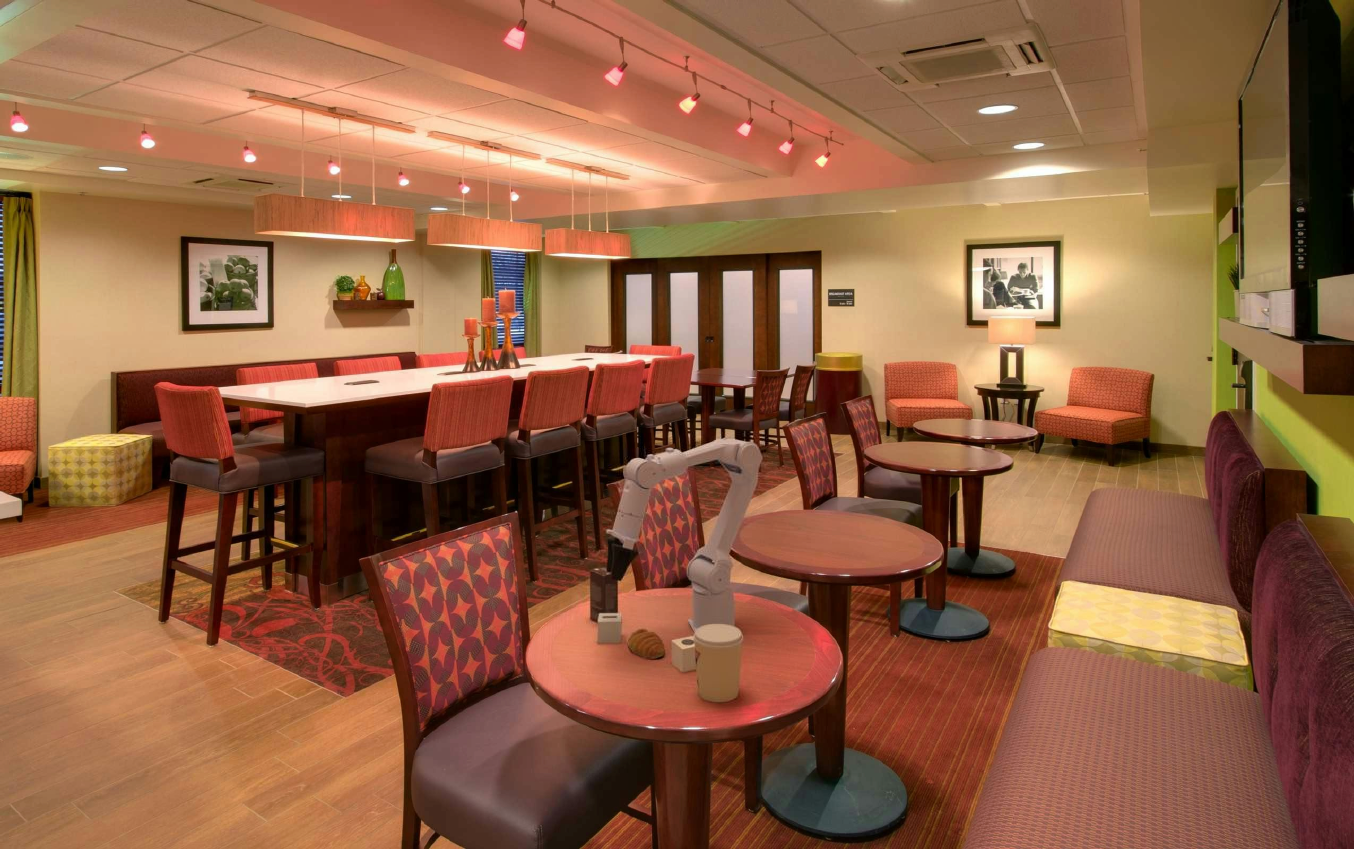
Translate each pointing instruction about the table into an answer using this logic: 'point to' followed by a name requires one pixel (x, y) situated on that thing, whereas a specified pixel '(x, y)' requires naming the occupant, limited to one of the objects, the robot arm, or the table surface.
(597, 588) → the box
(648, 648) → the pastry
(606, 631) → the marked block grey
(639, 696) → the table surface
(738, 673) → the coffee cup
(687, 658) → the marked block cream
